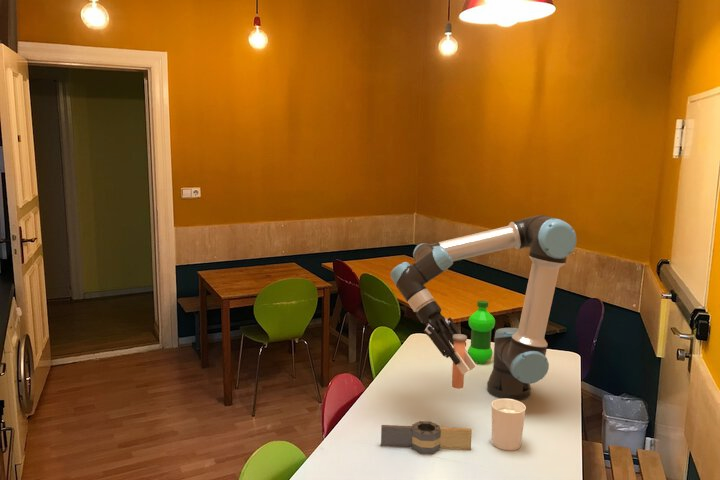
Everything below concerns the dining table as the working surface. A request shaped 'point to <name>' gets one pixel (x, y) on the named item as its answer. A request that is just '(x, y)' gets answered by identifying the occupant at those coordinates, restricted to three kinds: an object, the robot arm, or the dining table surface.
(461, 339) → the hinge pin
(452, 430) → the hinge
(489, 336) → the plastic bottle
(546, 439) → the dining table surface
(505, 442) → the candle holder
